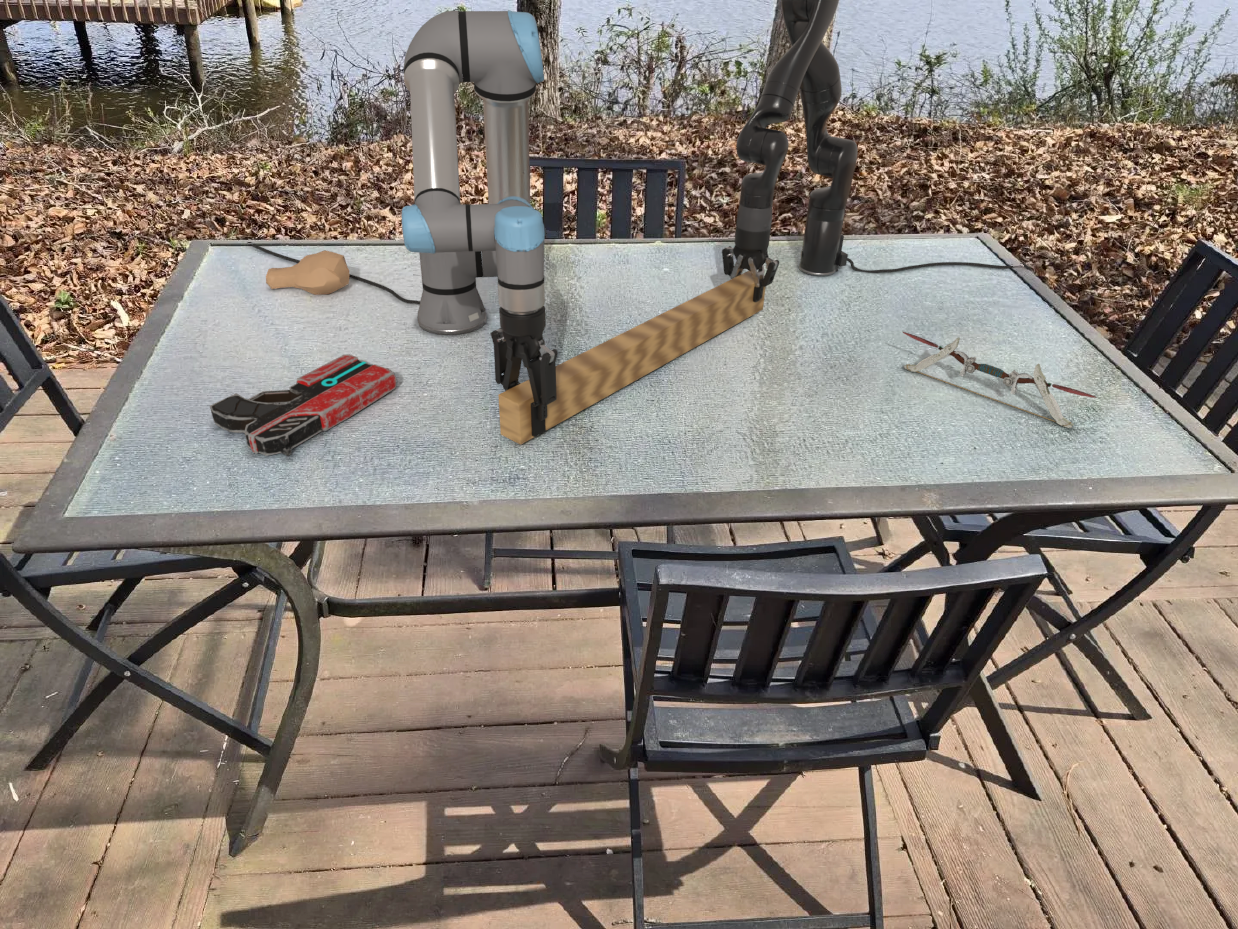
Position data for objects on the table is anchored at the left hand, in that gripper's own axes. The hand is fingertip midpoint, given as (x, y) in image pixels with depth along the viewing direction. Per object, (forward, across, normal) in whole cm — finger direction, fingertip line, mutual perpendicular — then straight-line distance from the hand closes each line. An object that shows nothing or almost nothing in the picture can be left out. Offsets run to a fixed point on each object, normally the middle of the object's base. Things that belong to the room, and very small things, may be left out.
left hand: (527, 427), depth 155 cm
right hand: (-3, 0, -70) cm, 71 cm away
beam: (+1, 0, -35) cm, 35 cm away
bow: (+2, -56, -72) cm, 91 cm away
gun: (+2, +37, +20) cm, 42 cm away
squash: (+3, +86, -13) cm, 87 cm away
